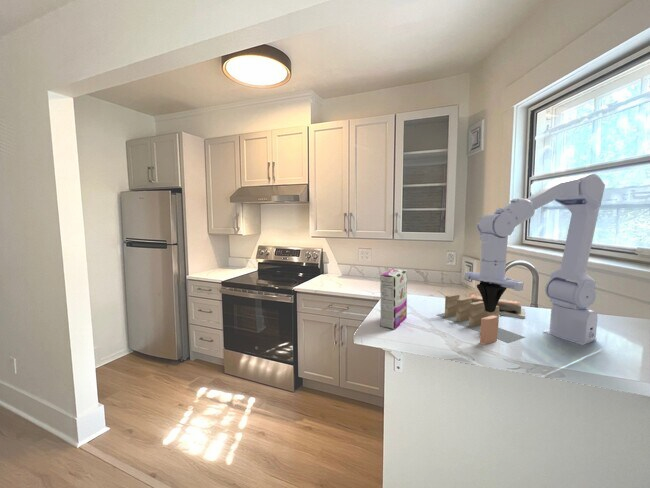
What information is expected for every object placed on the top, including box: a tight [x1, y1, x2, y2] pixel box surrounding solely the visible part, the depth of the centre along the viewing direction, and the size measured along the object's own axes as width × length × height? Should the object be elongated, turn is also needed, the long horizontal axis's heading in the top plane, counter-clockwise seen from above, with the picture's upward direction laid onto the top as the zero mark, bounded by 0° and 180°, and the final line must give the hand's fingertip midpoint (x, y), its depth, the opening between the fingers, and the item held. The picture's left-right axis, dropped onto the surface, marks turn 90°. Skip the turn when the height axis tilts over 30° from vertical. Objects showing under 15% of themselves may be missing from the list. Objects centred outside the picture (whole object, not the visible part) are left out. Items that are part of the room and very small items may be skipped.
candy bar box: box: [379, 268, 408, 330], centre depth 91 cm, size 11×5×16 cm, turn 146°
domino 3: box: [469, 301, 485, 327], centre depth 88 cm, size 1×5×7 cm, turn 117°
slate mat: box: [436, 312, 526, 344], centre depth 89 cm, size 24×8×1 cm, turn 27°
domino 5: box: [479, 315, 499, 345], centre depth 77 cm, size 1×5×7 cm, turn 117°
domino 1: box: [444, 293, 460, 318], centre depth 96 cm, size 1×5×7 cm, turn 117°
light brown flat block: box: [483, 306, 500, 323], centre depth 84 cm, size 1×5×7 cm, turn 117°
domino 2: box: [456, 296, 472, 322], centre depth 92 cm, size 1×5×7 cm, turn 117°
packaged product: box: [468, 294, 526, 319], centre depth 102 cm, size 18×5×10 cm
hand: (490, 311), depth 76 cm, fingers closed
